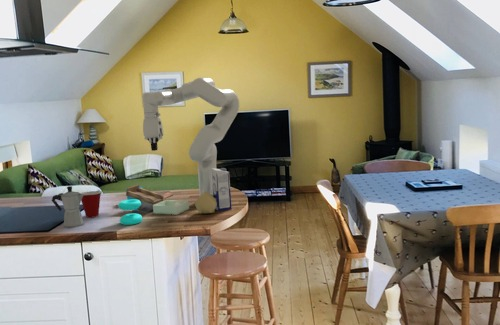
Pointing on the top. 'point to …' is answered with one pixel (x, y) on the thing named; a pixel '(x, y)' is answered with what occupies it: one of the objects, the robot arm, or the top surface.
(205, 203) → the yellow rounded lump
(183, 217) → the top surface
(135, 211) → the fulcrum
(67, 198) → the coffee maker
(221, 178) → the milk carton
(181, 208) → the tray
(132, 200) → the donuts
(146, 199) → the chute
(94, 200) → the plastic cup
